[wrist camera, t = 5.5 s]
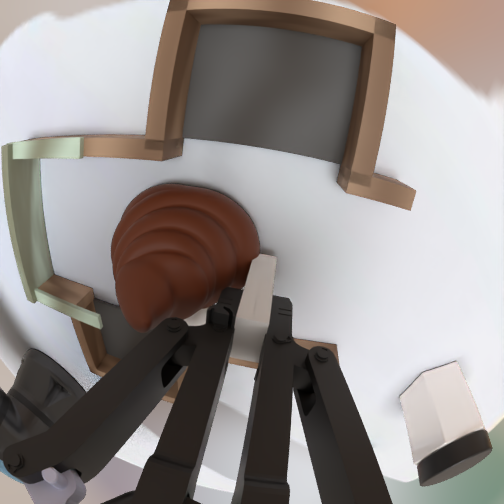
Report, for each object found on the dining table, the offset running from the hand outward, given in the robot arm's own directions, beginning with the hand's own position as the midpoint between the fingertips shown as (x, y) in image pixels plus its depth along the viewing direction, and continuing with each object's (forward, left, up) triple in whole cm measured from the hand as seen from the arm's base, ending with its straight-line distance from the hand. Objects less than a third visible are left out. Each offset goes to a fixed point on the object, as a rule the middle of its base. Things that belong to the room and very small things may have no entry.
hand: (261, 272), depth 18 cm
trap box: (-7, 0, -1) cm, 8 cm away
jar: (+23, -12, -2) cm, 26 cm away
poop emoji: (-5, +1, -2) cm, 6 cm away
